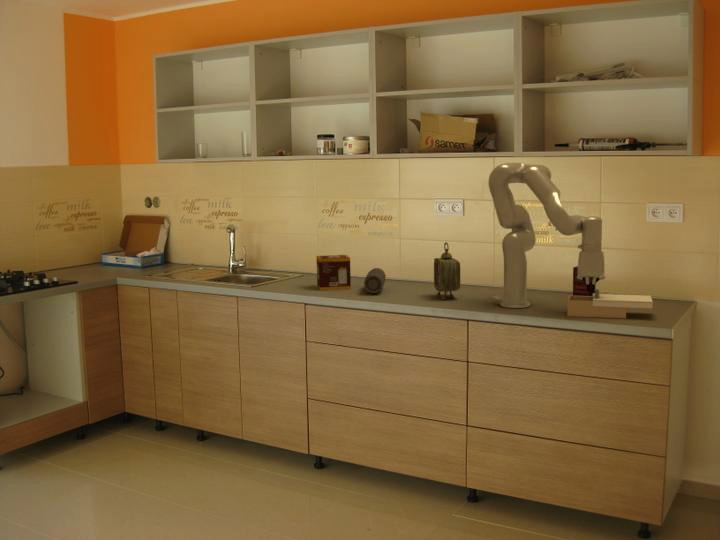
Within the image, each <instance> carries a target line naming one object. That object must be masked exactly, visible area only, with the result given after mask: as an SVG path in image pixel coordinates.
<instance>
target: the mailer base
mask: <svg viewBox="0 0 720 540" xmlns="http://www.w3.org/2000/svg"><path fill="white" fill-rule="evenodd" d="M566 309H567V313H566V314H567V317H581V318H582V317H583V318H584V317H585V318H605V319H607V318H610V319H627V307H603V306H593V296H573V295H568V297H567V308H566Z"/></svg>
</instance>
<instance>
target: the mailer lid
mask: <svg viewBox="0 0 720 540" xmlns="http://www.w3.org/2000/svg"><path fill="white" fill-rule="evenodd" d="M653 305H654V304H653V299H652V295H642V294H641V295H640V294H639V295H637V294H636V295H635V294H634V295H633V294H613V293H612V294H607V293H606V294H605V293H600V288H596V289H595V294H593V306H603V307H626V308H634V309H653V308H654V307H653Z"/></svg>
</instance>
